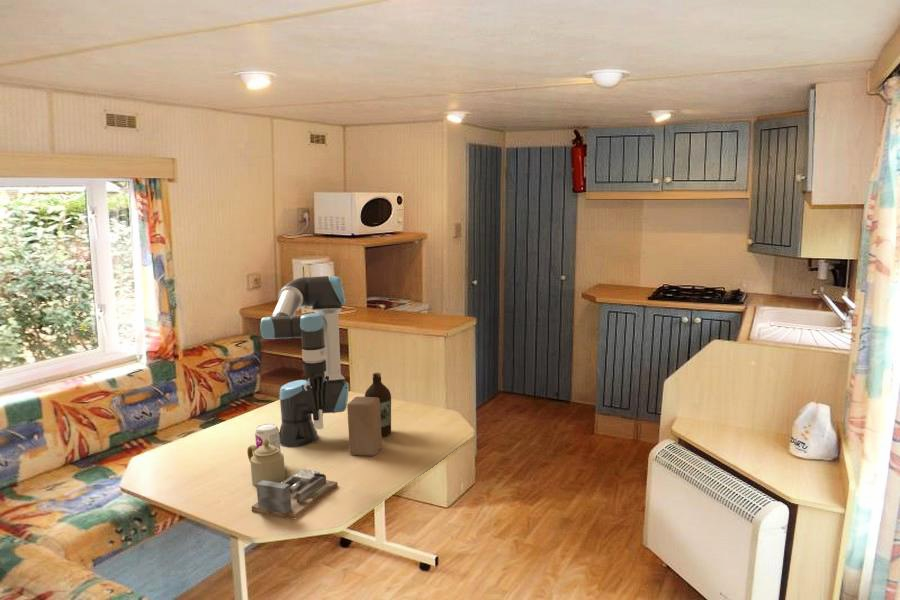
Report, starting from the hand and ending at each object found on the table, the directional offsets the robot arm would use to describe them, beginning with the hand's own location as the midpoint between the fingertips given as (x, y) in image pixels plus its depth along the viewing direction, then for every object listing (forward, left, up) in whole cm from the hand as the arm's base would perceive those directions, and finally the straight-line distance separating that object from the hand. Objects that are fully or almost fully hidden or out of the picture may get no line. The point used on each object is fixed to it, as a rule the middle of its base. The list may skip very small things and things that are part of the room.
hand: (318, 428), depth 228 cm
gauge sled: (+2, -11, -17) cm, 20 cm away
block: (+2, +27, -19) cm, 33 cm away
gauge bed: (0, -15, -18) cm, 24 cm away
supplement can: (-24, +3, -19) cm, 30 cm away
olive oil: (-2, +45, -19) cm, 49 cm away
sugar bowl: (-19, -7, -19) cm, 27 cm away
